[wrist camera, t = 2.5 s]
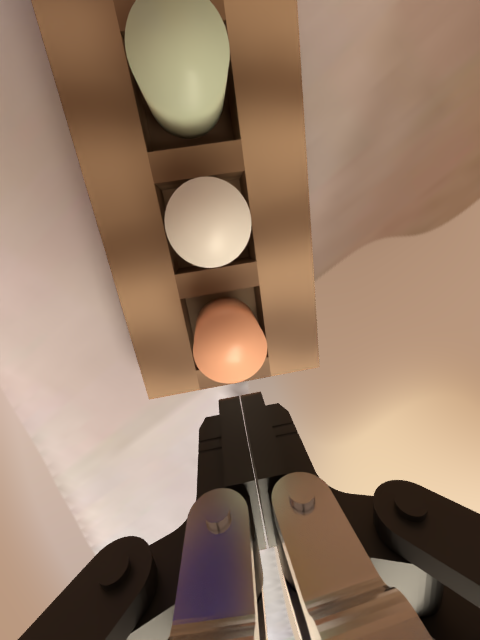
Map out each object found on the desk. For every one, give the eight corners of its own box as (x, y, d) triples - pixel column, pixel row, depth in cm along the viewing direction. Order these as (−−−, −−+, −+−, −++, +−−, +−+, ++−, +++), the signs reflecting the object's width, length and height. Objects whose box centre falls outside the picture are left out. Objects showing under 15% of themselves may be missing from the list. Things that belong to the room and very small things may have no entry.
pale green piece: (136, 51, 14) (111, -13, 10) (216, 42, 14) (220, -24, 10) (156, 143, 15) (140, 116, 12) (229, 134, 16) (236, 103, 12)
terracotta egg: (190, 302, 18) (185, 322, 14) (251, 292, 18) (262, 309, 15) (201, 358, 20) (200, 389, 16) (258, 347, 20) (271, 376, 16)
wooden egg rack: (67, 45, 16) (30, -3, 12) (277, 21, 16) (295, -31, 13) (157, 374, 23) (149, 399, 19) (303, 347, 23) (319, 367, 20)
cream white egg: (167, 193, 16) (154, 183, 12) (236, 183, 16) (245, 170, 13) (181, 263, 17) (175, 274, 14) (245, 253, 18) (256, 260, 14)
